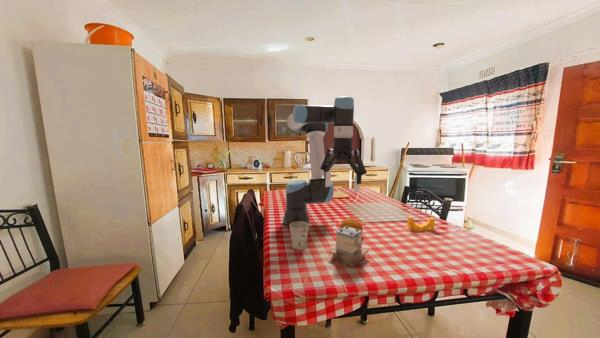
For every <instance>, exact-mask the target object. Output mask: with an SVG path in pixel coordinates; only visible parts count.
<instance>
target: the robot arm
mask: <svg viewBox="0 0 600 338" xmlns="http://www.w3.org/2000/svg"><path fill="white" fill-rule="evenodd" d="M354 114H355V100H354V98H353V97H351V96H338V97H335V99H334V103H333V105H321V104H320V105H319V104H318V105H316V104H315V105H311V104H296V105H294V107H293V110H292V113H290V114H289V115H288V116H287V118H286V125H287V127H288V128H289V130H291V131H292V132H296V133H300V134H301V133H302V134H304V133H305V137H306V138H308V145H309V147H308V148H309V149H308V150H309V163H310V174H311V177H310V178H309V180H308V181H307V180H303V179H302V180H300V179H299V180H293V181H289V182H288V183H287V184H286V185H285V211H284V216H283V218H282V223H283V225H285V226H288V227H290V226H289V225H290V223H292V222H296V221H303V222H307V223H308V224H310V223H311V219H310V216H309V212H308V209H307V207H308V206H307V205H308V204H310V205H311V204H325V203H326V204H327V203H330V202H332V200H333V197H334V191H335V190H334V189H335V187H334V186H335V185H334V184H333V183H334V182H332V181H331V176H332V174H331V173H332V171H330V170H331V169H332V168H333V167H334V165H335V164H336V162H337V161H343V162H347V163H348V165H349V167H351V169H352V170H353V172H354V173H355V175H354V180H353V181H354V183H353V192H354V193H358V192H360V185H361V184H362V179H363V178H362V176H364V175H367V173H368V172H367V170H366V167H365V165H364V162H363V160H362V158H361V152H360V150H359V149H354V150H353V142H354V141H353V136H354ZM329 124H331V125H333V137H334V138H333V142H332V143H333V148H327V150H326V155H325V147H324V146H325V145H324V137H325V135H326V133H327V131H328V128H329ZM352 156H354V158H353V157H352ZM354 160H355V161H354Z"/></svg>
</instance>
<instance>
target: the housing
mask: <svg viewBox="0 0 600 338" xmlns="http://www.w3.org/2000/svg"><path fill="white" fill-rule="evenodd" d="M362 233H363V231H362V230H358V229H354V228H351V227H347V226H345V227H343V228H341V229H340V228H339V229H338V230H336V237H335V239H336V240H335V245H336V246H335V247H336V251H338V252H341V253H343V254H346V255H349V256H351V257H353V256H354V255H355V254H357V253H358V252H359V251H361V248H362V237H363V235H362Z"/></svg>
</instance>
